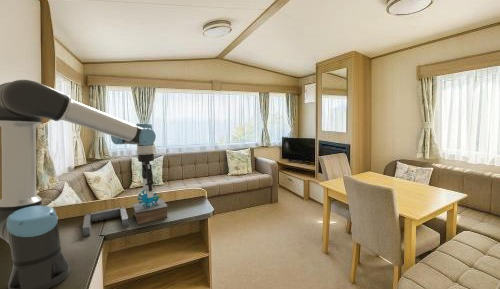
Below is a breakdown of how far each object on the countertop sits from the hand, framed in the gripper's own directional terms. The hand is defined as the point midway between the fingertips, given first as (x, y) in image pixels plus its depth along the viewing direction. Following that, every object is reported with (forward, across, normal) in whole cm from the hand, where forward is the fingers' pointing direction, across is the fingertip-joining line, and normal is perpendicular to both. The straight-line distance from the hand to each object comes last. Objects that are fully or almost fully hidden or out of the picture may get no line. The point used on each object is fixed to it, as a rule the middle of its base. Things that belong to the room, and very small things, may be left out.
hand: (148, 193), depth 126 cm
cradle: (+12, +2, +19) cm, 23 cm away
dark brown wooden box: (+12, 0, -1) cm, 12 cm away
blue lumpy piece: (+6, 0, 0) cm, 6 cm away
